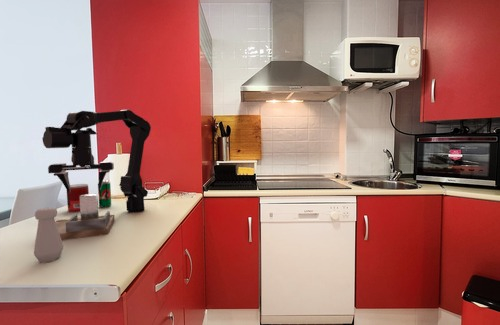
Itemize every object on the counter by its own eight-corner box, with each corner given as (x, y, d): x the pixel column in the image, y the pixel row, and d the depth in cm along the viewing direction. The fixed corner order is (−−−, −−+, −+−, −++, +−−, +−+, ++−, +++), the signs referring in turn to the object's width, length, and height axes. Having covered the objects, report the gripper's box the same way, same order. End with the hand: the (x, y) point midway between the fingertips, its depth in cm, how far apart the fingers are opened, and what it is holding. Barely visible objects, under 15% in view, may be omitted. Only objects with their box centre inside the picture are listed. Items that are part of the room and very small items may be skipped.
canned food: (93, 208, 113) (92, 184, 113) (76, 212, 106) (74, 187, 105) (81, 206, 116) (79, 183, 115) (63, 211, 108) (62, 186, 107)
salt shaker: (46, 254, 66) (42, 206, 65) (69, 253, 66) (65, 205, 65) (28, 265, 60) (24, 212, 59) (53, 263, 60) (49, 211, 59)
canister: (100, 221, 86) (98, 193, 86) (97, 226, 82) (95, 196, 81) (83, 223, 85) (81, 194, 84) (79, 228, 80) (77, 197, 79)
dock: (114, 220, 95) (114, 207, 94) (108, 234, 80) (107, 219, 80) (57, 226, 88) (56, 212, 88) (38, 242, 73) (37, 226, 73)
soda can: (113, 205, 119) (112, 180, 118) (106, 207, 114) (105, 181, 113) (103, 204, 119) (102, 180, 118) (96, 207, 114) (95, 181, 113)
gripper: (113, 146, 99) (116, 185, 100) (56, 147, 91) (59, 189, 93) (110, 146, 89) (113, 190, 90) (45, 148, 81) (49, 195, 82)
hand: (84, 191), depth 89 cm, fingers open, 9 cm apart
